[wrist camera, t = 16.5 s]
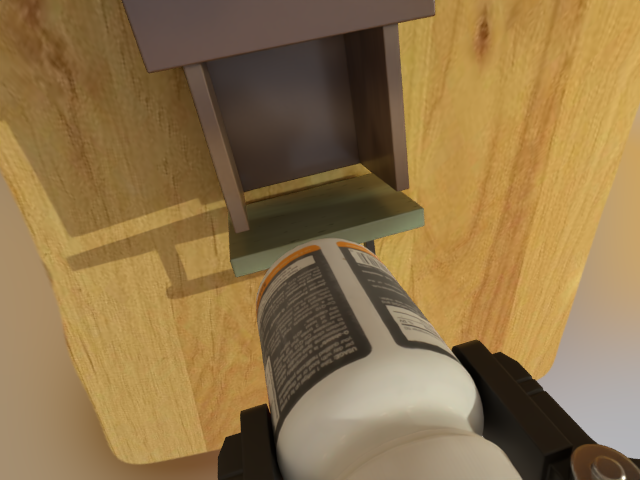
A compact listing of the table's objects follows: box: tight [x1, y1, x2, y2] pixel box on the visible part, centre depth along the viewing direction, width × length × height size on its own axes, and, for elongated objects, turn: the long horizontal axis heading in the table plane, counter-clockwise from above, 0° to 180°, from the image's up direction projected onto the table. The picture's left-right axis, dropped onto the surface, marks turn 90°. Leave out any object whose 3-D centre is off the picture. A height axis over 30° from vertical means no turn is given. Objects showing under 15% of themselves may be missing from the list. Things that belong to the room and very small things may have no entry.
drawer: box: [183, 23, 424, 277], centre depth 23 cm, size 20×11×8 cm, turn 10°
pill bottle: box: [256, 238, 523, 480], centre depth 12 cm, size 6×6×10 cm
